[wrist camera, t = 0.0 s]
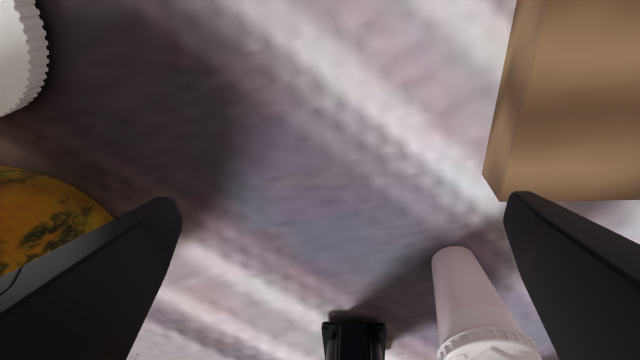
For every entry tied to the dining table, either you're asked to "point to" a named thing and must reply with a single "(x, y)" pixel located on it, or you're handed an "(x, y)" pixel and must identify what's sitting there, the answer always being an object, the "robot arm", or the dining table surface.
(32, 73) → the plastic lid
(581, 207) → the dining table surface
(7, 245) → the pumpkin
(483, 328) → the smoothie
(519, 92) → the walnut riser
